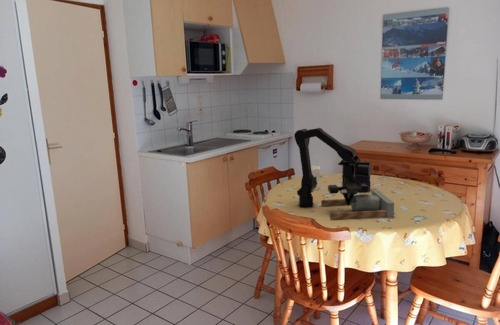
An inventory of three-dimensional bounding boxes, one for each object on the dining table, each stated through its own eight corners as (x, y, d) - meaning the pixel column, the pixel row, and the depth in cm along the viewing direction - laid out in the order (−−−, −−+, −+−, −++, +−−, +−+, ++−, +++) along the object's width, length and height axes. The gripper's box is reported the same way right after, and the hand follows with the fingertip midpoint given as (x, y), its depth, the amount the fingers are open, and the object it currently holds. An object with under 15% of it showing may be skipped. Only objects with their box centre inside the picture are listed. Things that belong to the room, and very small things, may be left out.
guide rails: (330, 219, 177) (330, 213, 176) (321, 205, 197) (321, 200, 197) (386, 217, 177) (387, 211, 177) (371, 203, 198) (371, 197, 197)
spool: (349, 207, 182) (354, 187, 184) (347, 210, 191) (352, 191, 193) (378, 215, 179) (383, 195, 181) (375, 218, 188) (380, 198, 190)
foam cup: (321, 190, 223) (321, 169, 221) (305, 191, 224) (305, 169, 221) (318, 186, 233) (318, 165, 230) (303, 186, 233) (303, 166, 230)
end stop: (387, 217, 177) (387, 203, 175) (371, 202, 198) (371, 189, 197) (393, 217, 177) (394, 202, 175) (377, 202, 198) (377, 189, 197)
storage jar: (368, 187, 225) (369, 163, 222) (372, 192, 215) (372, 166, 212) (351, 188, 226) (351, 163, 223) (354, 193, 216) (354, 167, 213)
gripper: (333, 179, 175) (332, 211, 179) (373, 177, 176) (372, 210, 179) (327, 173, 186) (327, 204, 190) (365, 172, 187) (364, 202, 190)
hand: (347, 205), depth 187 cm, fingers closed
